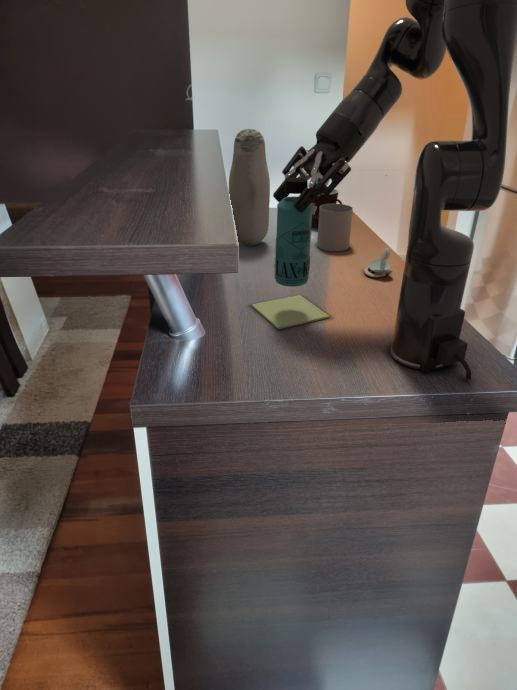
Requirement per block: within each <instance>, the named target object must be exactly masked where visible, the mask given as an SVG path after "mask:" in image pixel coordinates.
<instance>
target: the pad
mask: <svg viewBox="0 0 517 690" xmlns="http://www.w3.org/2000/svg"><path fill="white" fill-rule="evenodd" d="M251 308H253V309H254V310H256V311H257V312H258V313H259V314H260V315H261V316H262V317H263V318H264V319H265V320H267V321H268V322H269V323H270V324H272V325H273V327H275V328H276V329H277V330H282V329H287V328H290V327H294V326H299V325H303V324H308V323H313V322H317V321H321V320H326V319H329V318H330V315H329V314H327V313H326V312H325V311H323V310H322V309H320V308H319V307H318V306H317V305H315V304H314V303H312V302H311V301H309V300H307V298H305V297H303V296H302V295H301V294H298V295H294V296H293V295H291V296H287V297H283V298H282V297H281V298H278V299H272V300H267V301H261V302H258V303H253V304H251Z"/></svg>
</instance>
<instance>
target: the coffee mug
mask: <svg viewBox="0 0 517 690" xmlns="http://www.w3.org/2000/svg"><path fill="white" fill-rule="evenodd" d="M338 195H339V190H338V189H336V188H335V189H334V190H333V191H332V192H331V193H330V194H329V195H328V196H325V195H324V194H321V195H320V196H319V197H317V196H316V197H315V199H314V200H313V201H312V202H311V204H312V205H313V209H312V222H311V228H314V229H318V224H319V209H320V206H321V205H324V204H343V202H342V200H340V199H338V198H339V196H338ZM337 202H338V203H337Z"/></svg>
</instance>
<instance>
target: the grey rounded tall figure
mask: <svg viewBox="0 0 517 690" xmlns="http://www.w3.org/2000/svg"><path fill="white" fill-rule="evenodd" d="M269 173H270V172H269V167H268V162H267V154H266V142H265V138H264V135H263V134H262V133H261V132H260V131H259V130H256V129H252V128H245V129H242V130H240V131H239V132H238V133H237V134H236V135H235V138H234V141H233V153H232V161H231V167H230V170H229V176H228V195H229V194H230V200H231V205H232V208H233V215H234V220H235V225H236V230H237V236H238V241H239V242H238V241H237V242H238V243H240V244H242V245H244V246H254V245H258V244H260V243H261V242H262V241H263V240H264V239H265V238H266V236H267V235H268V231H269V224H270V201H271V200H270V199H271V198H270V197H271V181H270V180H271V179H270V174H269Z"/></svg>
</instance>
